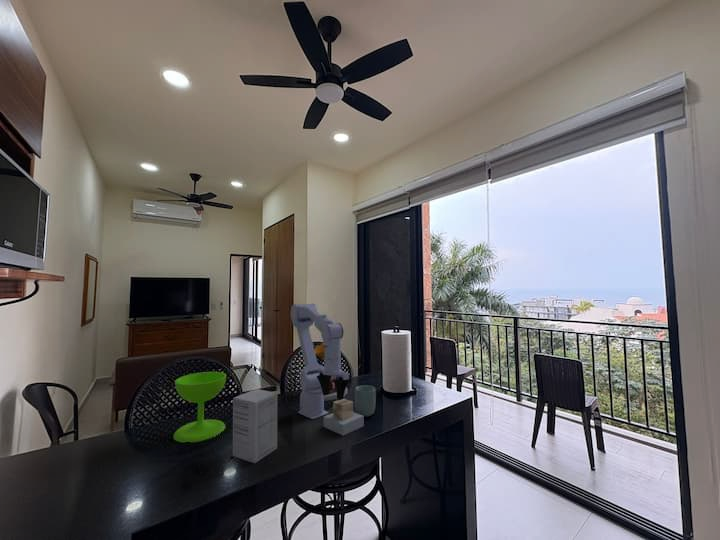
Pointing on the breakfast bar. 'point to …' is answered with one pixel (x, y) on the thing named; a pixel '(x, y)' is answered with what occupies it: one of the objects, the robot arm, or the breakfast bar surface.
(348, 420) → the grey base block
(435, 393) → the breakfast bar surface
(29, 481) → the breakfast bar surface
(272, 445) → the supplement box
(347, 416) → the maple cube
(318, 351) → the gramophone
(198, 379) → the wineglass
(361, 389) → the cup
